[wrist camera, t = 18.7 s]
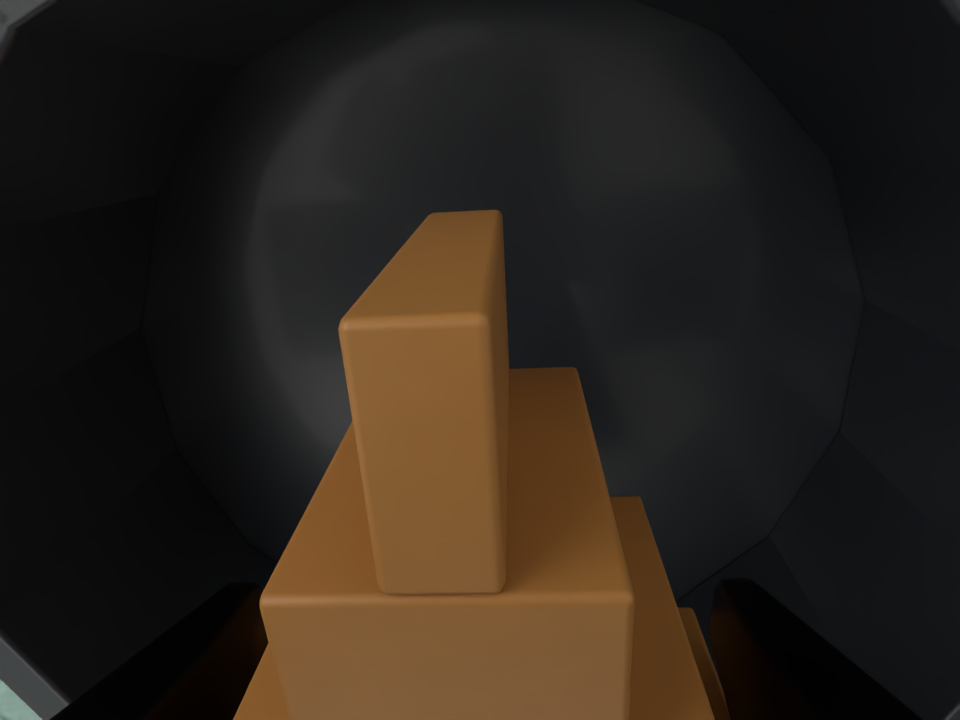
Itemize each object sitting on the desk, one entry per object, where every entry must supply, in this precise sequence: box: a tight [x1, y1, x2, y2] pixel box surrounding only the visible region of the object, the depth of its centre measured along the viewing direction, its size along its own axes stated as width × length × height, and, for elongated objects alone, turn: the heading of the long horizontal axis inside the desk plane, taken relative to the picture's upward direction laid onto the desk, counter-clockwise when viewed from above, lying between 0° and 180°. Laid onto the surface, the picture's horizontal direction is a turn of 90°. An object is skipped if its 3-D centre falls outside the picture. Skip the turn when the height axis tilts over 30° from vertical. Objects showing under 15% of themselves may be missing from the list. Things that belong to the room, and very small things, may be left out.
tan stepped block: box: [233, 210, 730, 720], centre depth 7 cm, size 8×7×4 cm
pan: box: [0, 0, 960, 720], centre depth 10 cm, size 15×15×6 cm
